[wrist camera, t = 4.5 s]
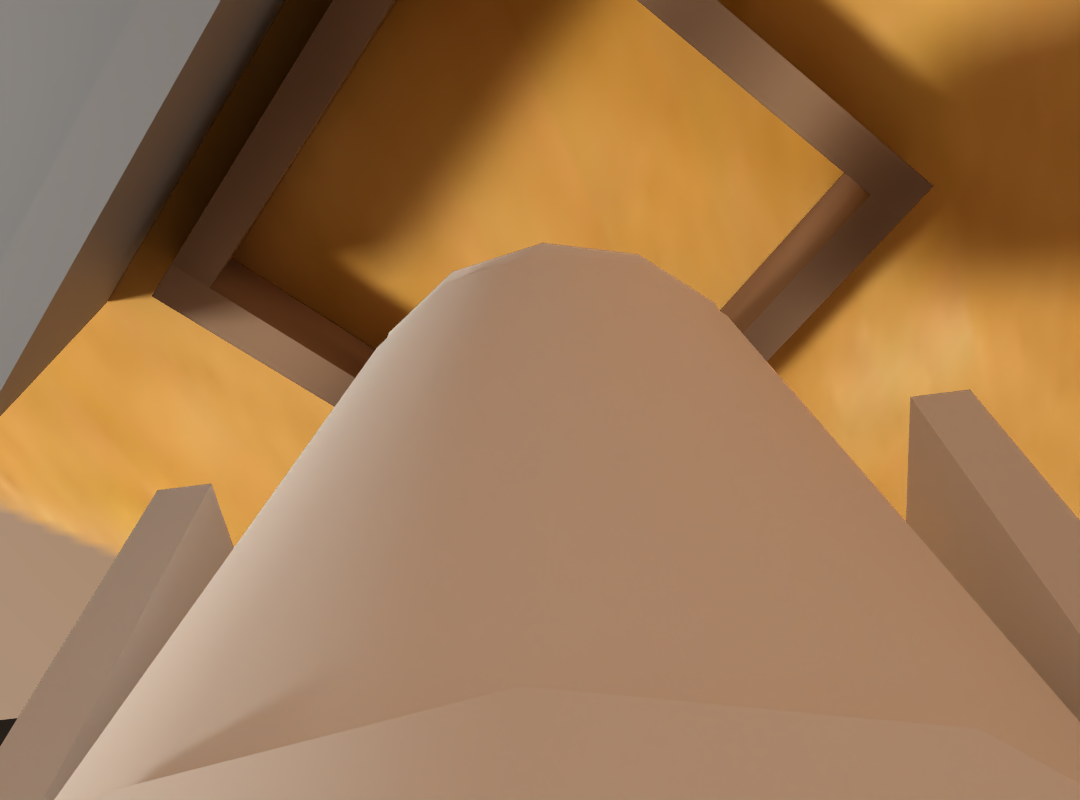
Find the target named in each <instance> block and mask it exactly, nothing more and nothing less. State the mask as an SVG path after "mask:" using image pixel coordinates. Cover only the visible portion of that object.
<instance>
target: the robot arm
mask: <svg viewBox="0 0 1080 800" xmlns="http://www.w3.org/2000/svg"><path fill="white" fill-rule="evenodd" d="M906 522H907V524H908V525H909V526H910V527H911V528H912V529H913V530H914V532H915V533H916V534H917V535H918V536H919V537H920V539H921V540H922V541H923V542H924V543H925V544H926V545H927V547H928V548H929V549H930V550H931V551H932V552H933V553H934V555H935V556H936V557H937V558H938V559H939V560H940V562H941V563H942V564H943V565H944V566H945V567H946V568H947V570H948V571H949V572H950V573H951V574H952V575H953V577H954V578H955V579H956V580H957V581H958V582H959V583H960V585H961V586H962V587H963V588H964V589H965V590H966V592H967V593H968V594H969V595H970V596H971V597H972V598H973V600H974V601H975V602H976V603H977V604H978V605H979V606H980V608H981V609H982V610H983V611H984V612H985V613H986V615H987V616H988V617H989V618H990V619H991V620H992V621H993V623H994V624H995V625H996V626H997V627H998V628H999V630H1000V631H1001V632H1002V633H1003V634H1004V635H1005V636H1006V638H1007V639H1008V640H1009V641H1010V642H1011V643H1012V645H1013V646H1014V647H1015V648H1016V649H1017V650H1018V651H1019V653H1020V654H1021V655H1022V656H1023V657H1024V658H1025V659H1026V661H1027V662H1028V663H1029V664H1030V665H1031V666H1032V668H1033V669H1034V670H1035V671H1036V672H1037V673H1038V674H1039V676H1040V677H1041V678H1042V679H1043V680H1044V681H1045V683H1046V684H1047V685H1048V686H1049V687H1050V688H1051V689H1052V691H1053V692H1054V693H1055V694H1056V695H1057V696H1058V698H1059V699H1060V700H1061V701H1062V702H1063V703H1064V704H1065V706H1066V707H1067V708H1068V709H1069V710H1070V711H1071V712H1072V714H1073V715H1074V716H1075V717H1076V718H1077V719H1078V721H1079V722H1080V520H1079V519H1078V518H1077V517H1076V516H1075V514H1074V513H1073V512H1072V511H1071V510H1070V509H1069V507H1068V506H1067V505H1066V504H1065V503H1064V501H1063V500H1062V499H1061V498H1060V497H1059V495H1058V494H1057V493H1056V492H1055V491H1054V489H1053V488H1052V487H1051V486H1050V485H1049V483H1048V482H1047V481H1046V480H1045V479H1044V477H1043V476H1042V475H1041V474H1040V473H1039V472H1038V470H1037V469H1036V468H1035V467H1034V466H1033V464H1032V463H1031V462H1030V461H1029V460H1028V458H1027V457H1026V456H1025V455H1024V454H1023V452H1022V451H1021V450H1020V449H1019V448H1018V446H1017V445H1016V444H1015V443H1014V442H1013V441H1012V439H1011V438H1010V437H1009V436H1008V435H1007V433H1006V432H1005V431H1004V430H1003V429H1002V427H1001V426H1000V425H999V424H998V423H997V421H996V420H995V419H994V418H993V417H992V415H991V414H990V413H989V412H988V411H987V410H986V408H985V407H984V406H983V405H982V404H981V402H980V401H979V400H978V399H977V398H976V396H975V395H974V394H973V393H972V392H971V390H962V391H954V392H946V393H938V394H930V395H922V396H914V397H910V424H909V453H908V482H907V511H906ZM233 549H234V547H233V544H232V541H231V538H230V535H229V533H228V530H227V527H226V524H225V521H224V518H223V515H222V513H221V510H220V507H219V504H218V501H217V498H216V495H215V492H214V490H213V487H212V484H205V485H196V486H188V487H180V488H172V489H164V490H157V492H156V494H155V495H154V497H153V499H152V500H151V502H150V503H149V505H148V507H147V508H146V510H145V512H144V513H143V515H142V516H141V518H140V520H139V521H138V523H137V525H136V526H135V528H134V529H133V531H132V533H131V534H130V536H129V538H128V539H127V541H126V542H125V544H124V546H123V547H122V549H121V551H120V552H119V554H118V556H117V557H116V559H115V561H114V562H113V564H112V565H111V567H110V569H109V570H108V572H107V573H106V575H105V577H104V578H103V580H102V582H101V583H100V585H99V587H98V588H97V590H96V591H95V593H94V595H93V596H92V598H91V600H90V601H89V603H88V604H87V606H86V608H85V609H84V611H83V613H82V614H81V616H80V617H79V619H78V621H77V622H76V624H75V626H74V627H73V629H72V630H71V632H70V634H69V635H68V637H67V639H66V640H65V642H64V643H63V645H62V647H61V648H60V650H59V652H58V653H57V655H56V657H55V658H54V660H53V661H52V663H51V665H50V666H49V668H48V670H47V671H46V673H45V674H44V676H43V678H42V679H41V681H40V683H39V684H38V686H37V687H36V689H35V691H34V692H33V694H32V696H31V697H30V699H29V701H28V702H27V704H26V705H25V707H24V709H23V710H22V712H21V714H20V715H19V717H18V718H16V719H7V720H0V800H54V799H55V798H56V797H57V795H58V794H59V792H60V791H61V790H62V788H63V787H64V785H65V784H66V783H67V781H68V780H69V778H70V777H71V776H72V774H73V773H74V771H75V770H76V769H77V767H78V766H79V764H80V763H81V762H82V760H83V759H84V757H85V756H86V755H87V753H88V752H89V750H90V749H91V748H92V746H93V745H94V743H95V742H96V741H97V739H98V738H99V736H100V735H101V734H102V732H103V731H104V729H105V728H106V727H107V725H108V724H109V722H110V721H111V720H112V718H113V717H114V715H115V714H116V713H117V711H118V710H119V708H120V707H121V706H122V704H123V703H124V701H125V700H126V699H127V697H128V696H129V694H130V693H131V692H132V690H133V689H134V687H135V686H136V685H137V683H138V682H139V680H140V679H141V678H142V676H143V675H144V673H145V672H146V671H147V669H148V668H149V666H150V665H151V663H152V662H153V661H154V659H155V658H156V656H157V655H158V654H159V652H160V651H161V649H162V648H163V647H164V645H165V644H166V642H167V641H168V640H169V638H170V637H171V635H172V634H173V633H174V631H175V630H176V628H177V627H178V626H179V624H180V623H181V621H182V620H183V619H184V617H185V616H186V614H187V613H188V612H189V610H190V609H191V607H192V606H193V605H194V603H195V602H196V600H197V599H198V598H199V596H200V595H201V593H202V592H203V591H204V589H205V588H206V586H207V585H208V584H209V582H210V581H211V579H212V578H213V577H214V575H215V574H216V572H217V571H218V570H219V568H220V567H221V565H222V564H223V563H224V561H225V560H226V558H227V557H228V556H229V554H230V553H231V551H232V550H233Z"/></svg>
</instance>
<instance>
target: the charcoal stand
mask: <svg viewBox="0 0 1080 800" xmlns="http://www.w3.org/2000/svg"><path fill="white" fill-rule="evenodd" d="M284 2H285V0H0V416H1V415H2V414H3V413H4V412H5V411H6V410H7V408H8V407H9V406H10V405H11V404H12V403H13V402H14V401H15V400H16V399H17V398H18V397H19V396H20V395H21V393H22V392H23V391H24V390H25V389H26V388H27V387H28V386H29V385H30V384H31V383H32V382H33V381H34V380H35V379H36V377H37V376H38V375H39V374H40V373H41V372H42V371H43V370H44V369H45V368H46V367H47V366H48V365H49V364H50V363H51V361H52V360H53V359H54V358H55V357H56V356H57V355H58V354H59V353H60V352H61V351H62V350H63V349H64V348H65V347H66V345H67V344H68V343H69V342H70V341H71V340H72V339H73V338H74V337H75V336H76V335H77V334H78V333H79V332H80V331H81V329H82V328H83V327H84V326H85V325H86V324H87V323H88V322H89V321H90V320H91V319H92V318H93V317H94V316H95V314H96V313H97V312H98V311H99V310H100V309H101V308H102V307H103V306H104V305H105V304H106V303H107V301H108V299H109V298H110V296H111V294H112V293H113V291H114V289H115V288H116V286H117V284H118V282H119V281H120V279H121V277H122V276H123V274H124V272H125V271H126V269H127V267H128V266H129V264H130V262H131V260H132V259H133V257H134V255H135V254H136V252H137V250H138V249H139V247H140V245H141V244H142V242H143V240H144V238H145V237H146V235H147V233H148V232H149V230H150V228H151V227H152V225H153V223H154V222H155V220H156V218H157V217H158V215H159V213H160V211H161V210H162V208H163V206H164V205H165V203H166V201H167V200H168V198H169V196H170V195H171V193H172V191H173V189H174V188H175V186H176V184H177V183H178V181H179V179H180V178H181V176H182V174H183V173H184V171H185V169H186V168H187V166H188V164H189V162H190V161H191V159H192V157H193V156H194V154H195V152H196V151H197V149H198V147H199V146H200V144H201V142H202V140H203V139H204V137H205V135H206V134H207V132H208V130H209V129H210V127H211V125H212V124H213V122H214V120H215V118H216V117H217V115H218V113H219V112H220V110H221V108H222V107H223V105H224V103H225V102H226V100H227V98H228V97H229V95H230V93H231V91H232V90H233V88H234V86H235V85H236V83H237V81H238V80H239V78H240V76H241V75H242V73H243V71H244V69H245V68H246V66H247V64H248V63H249V61H250V59H251V58H252V56H253V54H254V53H255V51H256V49H257V47H258V46H259V44H260V42H261V41H262V39H263V37H264V36H265V34H266V32H267V31H268V29H269V27H270V26H271V24H272V22H273V20H274V19H275V17H276V15H277V14H278V12H279V10H280V9H281V7H282V5H283V4H284Z"/></svg>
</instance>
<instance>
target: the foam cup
mask: <svg viewBox="0 0 1080 800" xmlns="http://www.w3.org/2000/svg"><path fill="white" fill-rule="evenodd" d="M54 800H1080V722H1079V721H1078V719H1077V718H1076V717H1075V716H1074V715H1073V714H1072V712H1071V711H1070V710H1069V709H1068V708H1067V707H1066V706H1065V704H1064V703H1063V702H1062V701H1061V700H1060V699H1059V698H1058V696H1057V695H1056V694H1055V693H1054V692H1053V691H1052V689H1051V688H1050V687H1049V686H1048V685H1047V684H1046V683H1045V681H1044V680H1043V679H1042V678H1041V677H1040V676H1039V674H1038V673H1037V672H1036V671H1035V670H1034V669H1033V668H1032V666H1031V665H1030V664H1029V663H1028V662H1027V661H1026V659H1025V658H1024V657H1023V656H1022V655H1021V654H1020V653H1019V651H1018V650H1017V649H1016V648H1015V647H1014V646H1013V645H1012V643H1011V642H1010V641H1009V640H1008V639H1007V638H1006V636H1005V635H1004V634H1003V633H1002V632H1001V631H1000V630H999V628H998V627H997V626H996V625H995V624H994V623H993V621H992V620H991V619H990V618H989V617H988V616H987V615H986V613H985V612H984V611H983V610H982V609H981V608H980V606H979V605H978V604H977V603H976V602H975V601H974V600H973V598H972V597H971V596H970V595H969V594H968V593H967V592H966V590H965V589H964V588H963V587H962V586H961V585H960V583H959V582H958V581H957V580H956V579H955V578H954V577H953V575H952V574H951V573H950V572H949V571H948V570H947V568H946V567H945V566H944V565H943V564H942V563H941V562H940V560H939V559H938V558H937V557H936V556H935V555H934V553H933V552H932V551H931V550H930V549H929V548H928V547H927V545H926V544H925V543H924V542H923V541H922V540H921V539H920V537H919V536H918V535H917V534H916V533H915V532H914V530H913V529H912V528H911V527H910V526H909V525H908V524H907V522H906V521H905V520H904V519H903V518H902V517H901V515H900V514H899V513H898V512H897V511H896V510H895V509H894V507H893V506H892V505H891V504H890V503H889V502H888V500H887V499H886V498H885V497H884V496H883V495H882V494H881V492H880V491H879V490H878V489H877V488H876V487H875V486H874V484H873V483H872V482H871V481H870V480H869V479H868V477H867V476H866V475H865V474H864V473H863V472H862V471H861V469H860V468H859V467H858V466H857V465H856V464H855V462H854V461H853V460H852V459H851V458H850V457H849V456H848V454H847V453H846V452H845V451H844V450H843V449H842V447H841V446H840V445H839V444H838V443H837V442H836V441H835V439H834V438H833V437H832V436H831V435H830V434H829V433H828V431H827V430H826V429H825V428H824V427H823V426H822V424H821V423H820V422H819V421H818V420H817V419H816V418H815V416H814V415H813V414H812V413H811V412H810V411H809V409H808V408H807V407H806V406H805V405H804V404H803V403H802V401H801V400H800V399H799V398H798V397H797V396H796V394H795V393H794V392H793V391H792V390H791V389H790V388H789V386H788V385H787V384H786V383H785V382H784V381H783V380H782V378H781V377H780V376H779V375H778V374H777V373H776V371H775V370H774V369H773V368H772V367H771V366H770V365H769V363H768V362H767V361H766V360H765V359H764V358H763V356H762V355H761V354H760V353H759V352H758V351H757V350H756V348H755V347H754V346H753V345H752V344H751V343H750V342H749V340H748V339H747V338H746V337H745V336H744V335H743V333H742V332H741V331H740V330H739V329H738V328H737V327H736V325H735V324H734V323H733V322H732V321H731V320H730V318H729V317H728V316H727V315H725V314H724V313H722V312H721V311H719V310H718V308H717V306H716V305H715V303H714V302H712V301H711V300H709V299H708V298H706V297H705V296H703V295H701V294H700V293H698V292H697V291H695V290H694V289H692V288H690V287H689V286H687V285H686V284H684V283H683V282H681V281H679V280H678V279H676V278H675V277H673V276H671V275H670V274H668V273H667V272H665V271H664V270H662V269H660V268H659V267H657V266H656V265H654V264H653V263H651V262H649V261H648V260H646V259H645V258H643V257H642V256H640V255H638V254H631V253H623V252H615V251H606V250H598V249H590V248H581V247H573V246H565V245H557V244H548V243H541V244H538V245H535V246H531V247H528V248H525V249H522V250H519V251H516V252H513V253H510V254H507V255H503V256H500V257H497V258H494V259H491V260H488V261H485V262H482V263H479V264H476V265H472V266H469V267H466V268H463V269H460V270H457V271H454V272H452V273H451V274H450V275H449V276H448V277H447V278H446V279H445V280H443V281H442V282H441V283H440V284H439V285H438V286H437V287H436V288H435V289H434V290H433V291H432V292H431V293H430V294H429V295H428V296H427V297H426V298H425V299H424V300H423V301H422V302H421V303H419V304H418V305H417V306H416V307H415V308H414V309H413V310H412V311H411V312H410V313H409V314H408V315H407V316H406V317H405V318H404V319H403V320H402V321H401V322H400V323H399V324H398V325H397V326H395V327H394V328H393V329H392V330H391V331H390V332H389V334H388V337H387V338H386V339H385V340H384V341H383V342H382V343H381V344H380V345H379V346H378V347H377V348H376V350H375V351H374V353H373V354H372V355H371V357H370V358H369V360H368V361H367V362H366V364H365V365H364V367H363V368H362V369H361V371H360V372H359V374H358V375H357V376H356V378H355V379H354V381H353V382H352V383H351V385H350V386H349V388H348V389H347V390H346V392H345V393H344V395H343V396H342V397H341V399H340V400H339V402H338V403H337V404H336V406H335V407H334V409H333V410H332V411H331V413H330V414H329V416H328V417H327V418H326V420H325V421H324V423H323V424H322V425H321V427H320V428H319V430H318V431H317V432H316V434H315V435H314V437H313V438H312V439H311V441H310V442H309V444H308V445H307V446H306V448H305V449H304V451H303V452H302V453H301V455H300V456H299V458H298V459H297V460H296V462H295V463H294V465H293V466H292V467H291V469H290V470H289V472H288V473H287V474H286V476H285V477H284V479H283V480H282V481H281V483H280V484H279V486H278V487H277V488H276V490H275V491H274V493H273V494H272V495H271V497H270V498H269V500H268V501H267V502H266V504H265V505H264V507H263V508H262V509H261V511H260V512H259V514H258V515H257V516H256V518H255V519H254V521H253V522H252V523H251V525H250V526H249V528H248V529H247V530H246V532H245V533H244V535H243V536H242V537H241V539H240V540H239V542H238V543H237V544H236V546H235V547H234V549H233V550H232V551H231V553H230V554H229V556H228V557H227V558H226V560H225V561H224V563H223V564H222V565H221V567H220V568H219V570H218V571H217V572H216V574H215V575H214V577H213V578H212V579H211V581H210V582H209V584H208V585H207V586H206V588H205V589H204V591H203V592H202V593H201V595H200V596H199V598H198V599H197V600H196V602H195V603H194V605H193V606H192V607H191V609H190V610H189V612H188V613H187V614H186V616H185V617H184V619H183V620H182V621H181V623H180V624H179V626H178V627H177V628H176V630H175V631H174V633H173V634H172V635H171V637H170V638H169V640H168V641H167V642H166V644H165V645H164V647H163V648H162V649H161V651H160V652H159V654H158V655H157V656H156V658H155V659H154V661H153V662H152V663H151V665H150V666H149V668H148V669H147V671H146V672H145V673H144V675H143V676H142V678H141V679H140V680H139V682H138V683H137V685H136V686H135V687H134V689H133V690H132V692H131V693H130V694H129V696H128V697H127V699H126V700H125V701H124V703H123V704H122V706H121V707H120V708H119V710H118V711H117V713H116V714H115V715H114V717H113V718H112V720H111V721H110V722H109V724H108V725H107V727H106V728H105V729H104V731H103V732H102V734H101V735H100V736H99V738H98V739H97V741H96V742H95V743H94V745H93V746H92V748H91V749H90V750H89V752H88V753H87V755H86V756H85V757H84V759H83V760H82V762H81V763H80V764H79V766H78V767H77V769H76V770H75V771H74V773H73V774H72V776H71V777H70V778H69V780H68V781H67V783H66V784H65V785H64V787H63V788H62V790H61V791H60V792H59V794H58V795H57V797H56V798H55V799H54Z"/></svg>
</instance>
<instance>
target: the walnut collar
mask: <svg viewBox="0 0 1080 800" xmlns="http://www.w3.org/2000/svg"><path fill="white" fill-rule="evenodd" d="M638 1H639V2H640V3H641V4H642V5H644V6H645V7H646V8H647V9H648V10H650V11H651V12H652V13H653V14H654V15H656V16H657V17H658V18H659V19H660V20H662V21H663V22H664V23H665V24H666V25H668V26H669V27H670V28H671V29H672V30H674V31H675V32H676V33H677V34H678V35H680V36H681V37H682V38H683V39H684V40H686V41H687V42H688V43H689V44H690V45H692V46H693V47H694V48H695V49H696V50H698V51H699V52H700V53H701V54H702V55H704V56H705V57H706V58H707V59H708V60H710V61H711V62H712V63H713V64H715V65H716V66H717V67H718V68H719V69H721V70H722V71H723V72H724V73H725V74H727V75H728V76H729V77H730V78H731V79H733V80H734V81H735V82H736V83H737V84H739V85H740V86H741V87H742V88H743V89H745V90H746V91H747V92H748V93H749V94H751V95H752V96H753V97H754V98H755V99H757V100H758V101H759V102H760V103H761V104H763V105H764V106H765V107H766V108H767V109H769V110H770V111H771V112H772V113H773V114H775V115H776V116H777V117H778V118H779V119H781V120H782V121H783V122H784V123H785V124H787V125H788V126H789V127H790V128H791V129H793V130H794V131H795V132H796V133H797V134H799V135H800V136H801V137H802V138H803V139H805V140H806V141H807V142H808V143H809V144H811V145H812V146H813V147H814V148H815V149H817V150H818V151H819V152H820V153H821V154H823V155H824V156H825V157H826V158H827V159H829V160H830V161H831V162H832V163H833V164H835V165H836V166H837V167H838V168H839V169H841V170H842V171H843V172H844V174H843V175H842V176H841V177H840V178H839V179H838V180H837V181H836V183H835V184H834V185H833V186H832V187H831V188H830V189H829V190H828V191H827V193H826V194H825V195H824V196H823V197H822V198H821V199H820V200H819V201H818V203H817V204H816V205H815V206H814V207H813V208H812V209H811V210H810V211H809V213H808V214H807V215H806V216H805V217H804V218H803V219H802V220H801V221H800V223H799V224H798V225H797V226H796V227H795V228H794V229H793V230H792V231H791V233H790V234H789V235H788V236H787V237H786V238H785V239H784V240H783V241H782V243H781V244H780V245H779V246H778V247H777V248H776V249H775V250H774V251H773V253H772V254H771V255H770V256H769V257H768V258H767V259H766V260H765V261H764V263H763V264H762V265H761V266H760V267H759V268H758V269H757V270H756V271H755V273H754V274H753V275H752V276H751V277H750V278H749V279H748V280H747V281H746V283H745V284H744V285H743V286H742V287H741V288H740V289H739V290H738V291H737V292H736V294H735V295H734V296H733V297H732V298H731V299H730V300H729V301H728V302H727V304H726V305H725V306H724V307H723V308H722V309H721V310H720V311H721V312H722V313H724V314H725V315H727V316H728V317H729V318H730V320H731V321H732V322H733V323H734V324H735V325H736V327H737V328H738V329H739V330H740V331H741V332H742V333H743V335H744V336H745V337H746V338H747V339H748V340H749V342H750V343H751V344H752V345H753V346H754V347H755V348H756V350H757V351H758V352H759V353H760V354H761V355H762V356H763V358H764V359H765V360H766V361H768V360H769V359H770V358H771V357H772V356H773V355H774V354H775V353H776V351H777V350H778V349H779V348H780V347H781V346H782V345H783V344H784V343H785V342H786V341H787V340H788V339H789V338H790V337H791V336H792V335H793V334H794V333H795V331H796V330H797V329H798V328H799V327H800V326H801V325H802V324H803V323H804V322H805V321H806V320H807V319H808V318H809V317H810V316H811V315H812V314H813V312H814V311H815V310H816V309H817V308H818V307H819V306H820V305H821V304H822V303H823V302H824V301H825V300H826V299H827V298H828V297H829V296H830V295H831V293H832V292H833V291H834V290H835V289H836V288H837V287H838V286H839V285H840V284H841V283H842V282H843V281H844V280H845V279H846V278H847V277H848V276H849V275H850V273H851V272H852V271H853V270H854V269H855V268H856V267H857V266H858V265H859V264H860V263H861V262H862V261H863V260H864V259H865V258H866V257H867V256H868V254H869V253H870V252H871V251H872V250H873V249H874V248H875V247H876V246H877V245H878V244H879V243H880V242H881V241H882V240H883V239H884V238H885V237H886V235H887V234H888V233H889V232H890V231H891V230H892V229H893V228H894V227H895V226H896V225H897V224H898V223H899V222H900V221H901V220H902V219H903V218H904V217H905V215H906V214H907V213H908V212H909V211H910V210H911V209H912V208H913V207H914V206H915V205H916V204H917V203H918V202H919V201H920V200H921V199H922V198H923V196H924V195H925V194H926V193H927V192H928V191H929V190H930V189H931V188H932V187H933V185H932V184H931V183H929V182H928V181H927V180H926V179H925V178H924V177H922V176H921V175H920V174H919V173H918V172H917V171H915V170H914V169H913V168H912V167H911V166H910V165H908V164H907V163H906V162H905V161H904V160H903V159H901V158H900V157H899V156H898V155H897V154H896V153H894V152H893V151H892V150H891V149H890V148H889V147H887V146H886V145H885V144H884V143H883V142H882V141H880V140H879V139H878V138H877V137H876V136H875V135H873V134H872V133H871V132H870V131H869V130H868V129H866V128H865V127H864V126H863V125H862V124H861V123H860V122H858V121H857V120H856V119H855V118H854V117H853V116H851V115H850V114H849V113H848V112H847V111H846V110H844V109H843V108H842V107H841V106H840V105H839V104H837V103H836V102H835V101H834V100H833V99H832V98H830V97H829V96H828V95H827V94H826V93H825V92H823V91H822V90H821V89H820V88H819V87H818V86H816V85H815V84H814V83H813V82H812V81H811V80H809V79H808V78H807V77H806V76H805V75H804V74H802V73H801V72H800V71H799V70H798V69H797V68H795V67H794V66H793V65H792V64H791V63H790V62H789V61H787V60H786V59H785V58H784V57H783V56H782V55H780V54H779V53H778V52H777V51H776V50H775V49H773V48H772V47H771V46H770V45H769V44H768V43H766V42H765V41H764V40H763V39H762V38H761V37H759V36H758V35H757V34H756V33H755V32H754V31H752V30H751V29H750V28H749V27H748V26H747V25H745V24H744V23H743V22H742V21H741V20H740V19H738V18H737V17H736V16H735V15H734V14H733V13H731V12H730V11H729V10H728V9H727V8H726V7H724V6H723V5H722V4H721V3H720V2H719V1H718V0H638ZM395 2H396V0H333V1H332V3H331V4H330V6H329V8H328V9H327V11H326V12H325V14H324V16H323V17H322V19H321V21H320V22H319V24H318V26H317V27H316V29H315V30H314V32H313V34H312V35H311V37H310V39H309V40H308V42H307V44H306V45H305V47H304V48H303V50H302V52H301V53H300V55H299V57H298V58H297V60H296V62H295V63H294V65H293V66H292V68H291V70H290V71H289V73H288V75H287V76H286V78H285V79H284V81H283V83H282V84H281V86H280V88H279V89H278V91H277V93H276V94H275V96H274V97H273V99H272V101H271V102H270V104H269V106H268V107H267V109H266V111H265V112H264V114H263V115H262V117H261V119H260V120H259V122H258V124H257V125H256V127H255V128H254V130H253V132H252V133H251V135H250V137H249V138H248V140H247V142H246V143H245V145H244V146H243V148H242V150H241V151H240V153H239V155H238V156H237V158H236V160H235V161H234V163H233V164H232V166H231V168H230V169H229V171H228V173H227V174H226V176H225V177H224V179H223V181H222V182H221V184H220V186H219V187H218V189H217V191H216V192H215V194H214V195H213V197H212V199H211V200H210V202H209V204H208V205H207V207H206V209H205V210H204V212H203V213H202V215H201V217H200V218H199V220H198V222H197V223H196V225H195V226H194V228H193V230H192V231H191V233H190V235H189V236H188V238H187V240H186V241H185V243H184V244H183V246H182V248H181V249H180V251H179V253H178V254H177V256H176V258H175V259H174V261H173V262H172V264H171V266H170V267H169V269H168V271H167V272H166V274H165V275H164V277H163V279H162V280H161V282H160V284H159V285H158V287H157V289H156V290H155V292H154V293H153V295H152V296H153V297H154V298H156V299H157V300H159V301H161V302H162V303H164V304H166V305H167V306H169V307H171V308H172V309H174V310H176V311H177V312H179V313H181V314H182V315H184V316H186V317H187V318H189V319H191V320H192V321H194V322H195V323H197V324H199V325H200V326H202V327H204V328H205V329H207V330H209V331H210V332H212V333H214V334H215V335H217V336H219V337H220V338H222V339H224V340H225V341H227V342H229V343H230V344H232V345H233V346H235V347H237V348H238V349H240V350H242V351H243V352H245V353H247V354H248V355H250V356H252V357H253V358H255V359H257V360H258V361H260V362H262V363H263V364H265V365H267V366H268V367H270V368H271V369H273V370H275V371H276V372H278V373H280V374H281V375H283V376H285V377H286V378H288V379H290V380H291V381H293V382H295V383H296V384H298V385H300V386H301V387H303V388H305V389H306V390H308V391H309V392H311V393H313V394H314V395H316V396H318V397H319V398H321V399H323V400H324V401H326V402H328V403H329V404H331V405H333V406H334V407H335V406H336V404H337V403H338V402H339V400H340V399H341V397H342V396H343V395H344V393H345V392H346V390H347V389H348V388H349V386H350V385H351V383H352V382H353V381H354V379H355V378H356V376H357V375H358V374H359V372H360V371H361V369H362V368H363V367H364V365H365V364H366V362H367V361H368V360H369V358H370V357H371V355H372V354H373V353H374V351H375V349H373V348H372V347H370V346H369V345H367V344H366V343H364V342H362V341H361V340H359V339H358V338H356V337H354V336H353V335H351V334H350V333H348V332H347V331H345V330H343V329H342V328H340V327H339V326H337V325H336V324H334V323H332V322H331V321H329V320H328V319H326V318H325V317H323V316H321V315H320V314H318V313H317V312H315V311H313V310H312V309H310V308H309V307H307V306H306V305H304V304H302V303H301V302H299V301H298V300H296V299H295V298H293V297H291V296H290V295H288V294H287V293H285V292H283V291H282V290H280V289H279V288H277V287H276V286H274V285H272V284H271V283H269V282H268V281H266V280H265V279H263V278H261V277H260V276H258V275H257V274H255V273H254V272H252V271H250V270H249V269H247V268H246V267H244V266H242V265H241V264H239V263H238V262H236V261H235V260H233V259H231V258H232V256H233V255H234V253H235V252H236V250H237V249H238V247H239V246H240V244H241V242H242V241H243V239H244V238H245V236H246V235H247V233H248V231H249V230H250V228H251V227H252V225H253V224H254V222H255V221H256V219H257V217H258V216H259V214H260V213H261V211H262V210H263V208H264V206H265V205H266V203H267V202H268V200H269V199H270V197H271V195H272V194H273V192H274V191H275V189H276V188H277V186H278V185H279V183H280V181H281V180H282V178H283V177H284V175H285V174H286V172H287V170H288V169H289V167H290V166H291V164H292V163H293V161H294V160H295V158H296V156H297V155H298V153H299V152H300V150H301V149H302V147H303V145H304V144H305V142H306V141H307V139H308V138H309V136H310V135H311V133H312V131H313V130H314V128H315V127H316V125H317V124H318V122H319V120H320V119H321V117H322V116H323V114H324V113H325V111H326V110H327V108H328V106H329V105H330V103H331V102H332V100H333V99H334V97H335V95H336V94H337V92H338V91H339V89H340V88H341V86H342V84H343V83H344V81H345V80H346V78H347V77H348V75H349V74H350V72H351V70H352V69H353V67H354V66H355V64H356V63H357V61H358V59H359V58H360V56H361V55H362V53H363V52H364V50H365V49H366V47H367V45H368V44H369V42H370V41H371V39H372V38H373V36H374V34H375V33H376V31H377V30H378V28H379V27H380V25H381V24H382V22H383V20H384V19H385V17H386V16H387V14H388V13H389V11H390V9H391V8H392V6H393V5H394V3H395Z"/></svg>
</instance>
